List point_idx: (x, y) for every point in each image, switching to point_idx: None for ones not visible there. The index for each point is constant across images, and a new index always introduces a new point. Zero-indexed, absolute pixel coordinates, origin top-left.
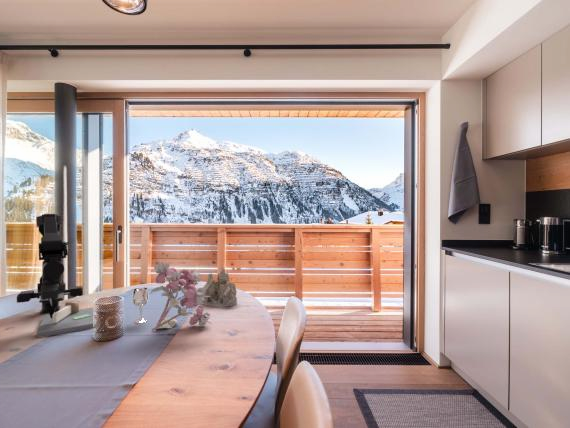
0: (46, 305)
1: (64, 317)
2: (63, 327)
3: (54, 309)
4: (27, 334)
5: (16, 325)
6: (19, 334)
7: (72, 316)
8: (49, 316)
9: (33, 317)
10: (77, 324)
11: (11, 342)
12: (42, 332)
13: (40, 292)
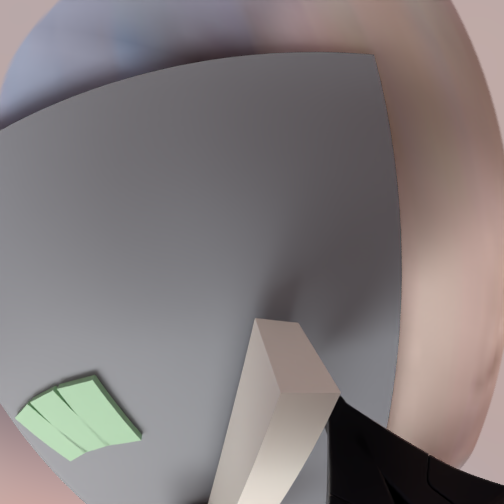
0: (489, 493)
1: None
2: (123, 128)
3: (337, 487)
4: (437, 213)
5: (466, 405)
6: (472, 240)
7: (171, 468)
8: None
9: None
10: (7, 194)
11: (468, 82)
12: (326, 54)
13: None
